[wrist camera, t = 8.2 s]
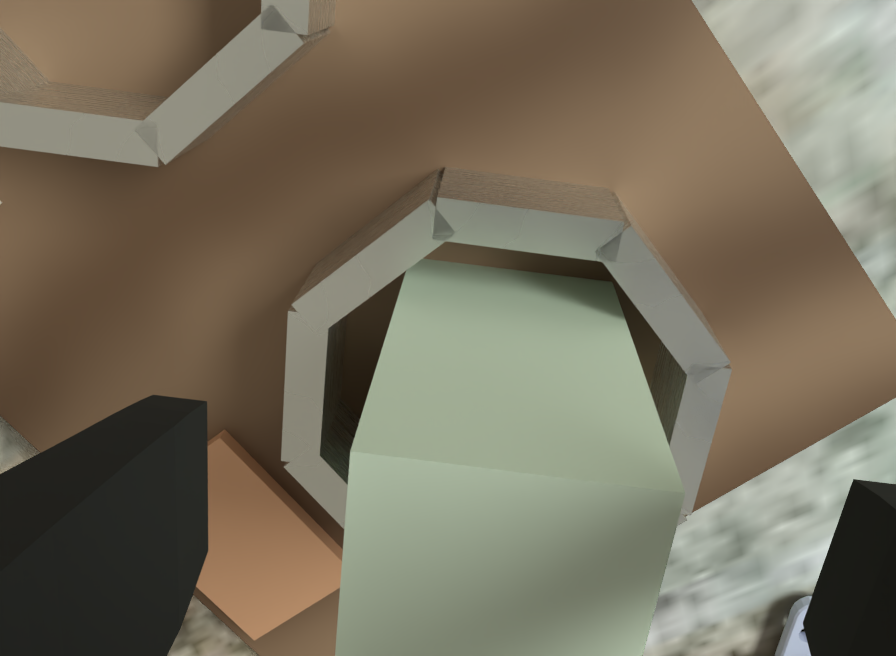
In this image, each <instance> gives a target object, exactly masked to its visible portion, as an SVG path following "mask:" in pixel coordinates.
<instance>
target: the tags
mask: <svg viewBox="0 0 896 656" xmlns="http://www.w3.org/2000/svg"><path fill="white" fill-rule="evenodd" d="M1 203H2V202H1V201H0V204H1ZM342 555H343V549H342V548H341V547H340V546H339V545H338V544H337V543H336V542H335V541H334V540H333V539H332V538H331V537H330V536H329V535H328V534H327V533H326V532H325V531H324V530H323V529H322V528H321V527H320V526H319V525H318V524H317V523H316V522H315V521H314V520H313V519H312V518H311V517H310V516H309V515H308V514H307V513H306V512H305V511H304V509H303V508H302V507H301V506H300V505H299V504H298V503H297V502H296V501H295V500H294V499H293V498H292V497H291V496H290V495H289V494H288V493H287V492H286V491H285V490H284V489H283V488H282V487H281V486H280V485H279V484H278V483H277V482H276V481H275V480H274V479H273V478H272V477H271V476H270V475H269V474H268V473H267V472H266V471H265V470H264V469H263V468H262V467H261V466H260V465H259V464H258V463H257V462H256V461H255V460H254V459H253V458H252V457H251V456H250V455H249V453H248V452H247V451H246V450H245V449H244V448H243V447H242V446H241V445H240V444H239V443H238V442H237V441H236V440H235V439H234V438H233V437H232V436H231V435H230V434H229V433H228V432H227V431H226V430H225V429H224V430H223V431H222V432H220V433H219V434H218V435H216V436H215V437H213V438H212V439H211V440H209V441H208V553H207V556H206V559H205V562H204V564H203V567H202V570H201V573H200V576H199V579H198V582H197V584H196V587H197V588H198V589H199V590H200V591H201V592H203V593H204V594H205V595H206V596H207V597H208V598H209V599H210V600H211V601H212V602H213V603H214V604H215V605H216V606H218V607H219V608H220V609H221V610H222V611H223V612H224V613H225V614H226V615H227V616H228V617H229V618H230V619H232V620H233V621H234V622H235V623H236V624H237V625H238V626H239V627H240V628H241V629H242V630H243V631H244V632H245V633H247V634H248V635H249V636H250V637H251V638H252V639H253V640H254V641H255V640H256V639H258V638H259V637H261V636H263V635H264V634H266V633H268V632H269V631H271V630H272V629H274V628H276V627H277V626H279V625H280V624H282V623H284V622H285V621H287V620H288V619H290V618H292V617H293V616H295V615H297V614H298V613H300V612H301V611H303V610H305V609H306V608H308V607H309V606H311V605H313V604H314V603H316V602H317V601H319V600H321V599H322V598H324V597H326V596H327V595H329V594H330V593H332V592H334V591H335V590H337V589H338V588H340V582H341V568H342Z"/></svg>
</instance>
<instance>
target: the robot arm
mask: <svg viewBox="0 0 896 656" xmlns="http://www.w3.org/2000/svg"><path fill="white" fill-rule="evenodd" d="M207 553H208V439H207V401H201V400H193V399H185V398H176V397H168V396H160V395H151V396H149V397H147V398H144V399H142V400H140V401H138V402H136V403H134V404H132V405H130V406H128V407H126V408H124V409H122V410H120V411H118V412H116V413H114V414H112V415H110V416H108V417H107V418H105V419H103V420H101V421H99V422H97V423H95V424H94V425H92V426H90V427H88V428H86V429H84V430H82V431H81V432H79V433H77V434H75V435H73V436H71V437H70V438H68V439H66V440H64V441H62V442H60V443H58V444H56V445H55V446H53V447H51V448H49V449H47V450H45V451H43V452H41V453H40V454H38V455H36V456H34V457H32V458H30V459H28V460H26V461H24V462H23V463H21V464H19V465H17V466H15V467H13V468H11V469H9V470H8V471H6V472H4V473H2V474H0V656H167V654H168V652H169V650H170V648H171V646H172V644H173V642H174V640H175V638H176V636H177V634H178V632H179V630H180V627H181V625H182V622H183V620H184V617H185V614H186V612H187V609H188V606H189V604H190V601H191V598H192V596H193V593H194V590H195V587H196V584H197V582H198V579H199V576H200V573H201V570H202V567H203V564H204V562H205V559H206V556H207ZM802 629H804V630H805V632H801V630H802ZM774 656H896V484H888V483H879V482H871V481H863V480H855V479H853V482H852V485H851V488H850V491H849V494H848V496H847V499H846V502H845V505H844V508H843V510H842V513H841V516H840V519H839V522H838V525H837V527H836V530H835V533H834V536H833V539H832V542H831V544H830V547H829V550H828V553H827V556H826V558H825V561H824V564H823V567H822V570H821V573H820V575H819V578H818V581H817V584H816V587H815V590H814V592H813V595H812V596H806V597H803V598H800V599H799V600H798V601H796V602H795V603H794V605H793V606H792V608H791V610H790V613H789V616H788V619H787V622H786V624H785V627H784V630H783V633H782V636H781V638H780V641H779V644H778V647H777V650H776V652H775V655H774Z"/></svg>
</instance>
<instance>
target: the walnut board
mask: <svg viewBox="0 0 896 656" xmlns="http://www.w3.org/2000/svg"><path fill="white" fill-rule="evenodd" d="M260 14H261V0H0V28H1V29H2V30H3V31H4V32H5V33H6V34H7V35H8V36H9V37H10V38H11V40H12V41H13V42H14V43H15V44H16V45H17V46H18V47H19V48H20V49H21V50H22V52H23V53H24V54H25V55H26V56H27V57H28V58H29V59H30V60H31V61H32V63H33V64H34V65H35V66H36V67H37V68H38V69H39V70H40V71H41V72H42V73H43V75H44V76H45V77H46V78H47V79H48V80H49V81H50V82H57V83H64V84H72V85H80V86H87V87H95V88H103V89H110V90H118V91H126V92H133V93H141V94H149V95H157V96H164V97H170V96H171V95H172V94H173V93H174V92H175V91H176V90H177V89H179V88H180V87H181V86H182V85H183V84H184V83H185V82H186V81H187V80H188V79H190V78H191V77H192V76H193V75H194V74H195V73H196V72H197V71H198V70H199V69H201V68H202V67H203V66H204V65H205V64H206V63H207V62H208V61H209V60H210V59H212V58H213V57H214V56H215V55H216V54H217V53H218V52H219V51H220V50H221V49H223V48H224V47H225V46H226V45H227V44H228V43H229V42H230V41H231V40H232V39H234V38H235V37H236V36H237V35H238V34H239V33H240V32H241V31H242V30H243V29H245V28H246V27H247V26H248V25H249V24H250V23H251V22H252V21H253V20H254V19H256V18H257V17H258V16H259V15H260ZM328 29H329V30H330V32H331V33H329V34H328V35H327V36H326V37H325V38H324V39H323V40H321V41H320V42H319V43H318V44H317V45H316V46H315V47H313V48H312V49H311V50H310V51H309V52H308V53H306V54H305V55H304V56H303V57H302V58H301V59H300V60H298V61H297V62H296V63H295V64H294V65H293V66H292V67H290V68H289V69H288V70H287V71H286V72H285V73H284V74H282V75H281V76H280V77H279V78H278V79H277V80H276V81H274V82H273V83H272V84H271V85H270V86H269V87H268V88H266V89H265V90H264V91H263V92H262V93H261V94H260V95H258V96H257V97H256V98H255V99H254V100H253V101H252V102H250V103H249V104H248V105H247V106H246V107H245V108H243V109H242V110H241V111H240V112H239V113H238V114H237V115H235V116H234V117H233V118H232V119H231V120H230V121H229V122H227V123H226V124H225V125H224V126H223V127H222V128H221V129H219V130H218V131H217V132H216V133H215V134H214V135H213V136H211V137H210V138H209V139H208V140H206V141H204V142H203V143H201V144H199V145H198V146H196V147H194V148H193V149H191V150H189V151H188V152H186V153H184V154H183V155H181V156H179V157H178V158H176V159H174V160H173V161H171V162H169V163H168V164H166V165H165V164H162V165H161V166H159V167H154V166H146V165H138V164H131V163H123V162H115V161H108V160H100V159H92V158H85V157H77V156H70V155H62V154H54V153H47V152H39V151H31V150H24V149H16V148H8V147H1V146H0V201H1V202H2V203H1V204H0V416H1V417H2V418H4V419H5V420H6V421H7V422H8V423H9V424H10V425H11V426H12V427H13V428H14V429H15V430H16V431H18V432H19V433H20V434H21V435H22V436H23V437H24V438H25V439H26V440H27V441H28V442H29V443H30V444H32V445H33V446H34V447H35V448H36V449H37V450H38V451H39V452H40V453H41V452H43V451H45V450H47V449H49V448H51V447H53V446H55V445H56V444H58V443H60V442H62V441H64V440H66V439H68V438H70V437H71V436H73V435H75V434H77V433H79V432H81V431H82V430H84V429H86V428H88V427H90V426H92V425H94V424H95V423H97V422H99V421H101V420H103V419H105V418H107V417H108V416H110V415H112V414H114V413H116V412H118V411H120V410H122V409H124V408H126V407H128V406H130V405H132V404H134V403H136V402H138V401H140V400H142V399H144V398H147V397H149V396H151V395H160V396H168V397H176V398H185V399H193V400H201V401H207V439H208V441H209V440H211V439H212V438H213V437H215V436H216V435H218V434H219V433H220V432H222V431H223V430H224V429H225V430H226V431H227V432H228V433H229V434H230V435H231V436H232V437H233V438H234V439H235V440H236V441H237V442H238V443H239V444H240V445H241V446H242V447H243V448H244V449H245V450H246V451H247V452H248V453H249V455H250V456H251V457H252V458H253V459H254V460H255V461H256V462H257V463H258V464H259V465H260V466H261V467H262V468H263V469H264V470H265V471H266V472H267V473H268V474H269V475H270V476H271V477H272V478H273V479H274V480H275V481H276V482H277V483H278V484H279V485H280V486H281V487H282V488H283V489H284V490H285V491H286V492H287V493H288V494H289V495H290V496H291V497H292V498H293V499H294V500H295V501H296V502H297V503H298V504H299V505H300V506H301V507H302V508H303V509H304V511H305V512H306V513H307V514H308V515H309V516H310V517H311V518H312V519H313V520H314V521H315V522H316V523H317V524H318V525H319V526H320V527H321V528H322V529H323V530H324V531H325V532H326V533H327V534H328V535H329V536H330V537H331V538H332V539H333V540H334V541H335V542H336V543H337V544H338V545H339V546H340V547H341V548H342V549H343V541H344V529H343V528H342V527H341V526H340V524H339V523H338V522H337V521H336V520H335V519H334V518H333V517H332V516H331V515H330V514H329V513H328V512H327V511H326V510H325V509H324V508H323V507H322V506H321V505H320V504H319V503H318V502H317V501H316V500H315V499H314V498H313V497H312V496H311V495H310V494H309V493H308V492H307V491H306V490H305V488H304V487H303V486H302V485H301V484H300V483H299V482H298V481H297V480H296V479H295V478H294V477H293V476H292V475H291V474H290V473H289V472H288V471H287V470H286V469H285V468H284V464H285V462H286V461H281V449H282V428H283V406H284V385H285V363H286V342H287V320H288V310H289V308H290V307H291V304H292V303H293V301H294V299H295V298H296V296H297V295H298V293H299V291H300V290H301V288H302V286H303V285H304V283H305V282H306V280H307V278H308V277H309V275H310V273H311V272H312V270H313V268H314V267H315V265H316V264H317V262H319V261H320V260H321V259H322V258H324V257H325V256H326V255H328V254H329V253H330V252H331V251H333V250H334V249H335V248H337V247H338V246H339V245H341V244H342V243H343V242H344V241H346V240H347V239H348V238H350V237H351V236H352V235H353V234H355V233H356V232H357V231H359V230H360V229H361V228H362V227H364V226H365V225H366V224H368V223H369V222H370V221H371V220H373V219H374V218H375V217H377V216H378V215H379V214H381V213H382V212H383V211H384V210H386V209H387V208H388V207H390V206H391V205H392V204H393V203H395V202H396V201H397V200H399V199H400V198H401V197H402V196H404V195H405V194H406V193H408V192H409V191H410V190H412V189H413V188H414V187H415V186H417V185H418V184H419V183H421V182H422V181H423V180H424V179H426V178H427V177H428V176H430V175H431V174H432V173H433V172H435V171H436V170H437V169H439V170H440V171H441V172H442V174H444V170H445V167H451V168H459V169H467V170H474V171H482V172H490V173H497V174H505V175H513V176H520V177H528V178H536V179H543V180H551V181H559V182H566V183H574V184H582V185H589V186H597V187H605V188H609V190H610V192H611V194H612V193H613V192H615V193H616V194H617V196H618V197H619V198H620V200H621V201H622V202H623V204H624V205H625V207H626V208H627V209H628V211H629V212H630V214H631V215H632V216H633V218H634V219H635V220H636V222H637V223H638V225H639V226H640V227H641V229H642V230H643V232H644V233H645V234H646V236H647V237H648V238H649V240H650V241H651V243H652V244H653V245H654V247H655V248H656V250H657V251H658V252H659V254H660V255H661V256H662V258H663V259H664V261H665V262H666V263H667V265H668V266H669V267H670V269H671V270H672V272H673V273H674V274H675V276H676V277H677V279H678V280H679V281H680V283H681V284H682V285H683V287H684V288H685V290H686V291H687V292H688V294H689V295H690V297H691V298H692V299H693V301H694V302H695V303H696V305H697V306H698V308H699V309H700V310H701V312H702V313H703V315H704V317H705V318H706V320H707V322H708V324H709V325H710V327H711V329H712V331H713V332H714V334H715V336H716V338H717V339H718V341H719V343H720V345H721V346H722V348H723V350H724V352H725V353H726V355H727V357H728V359H729V360H730V362H731V363H729V365H730V367H731V369H732V371H731V375H730V378H729V382H728V386H727V389H726V393H725V396H724V400H723V403H722V407H721V411H720V414H719V418H718V421H717V425H716V428H715V432H714V436H713V439H712V443H711V446H710V450H709V453H708V457H707V461H706V464H705V468H704V471H703V475H702V478H701V482H700V486H699V489H698V493H697V496H696V500H695V503H694V507H693V511H692V512H694V511H696V510H698V509H699V508H701V507H703V506H705V505H706V504H708V503H710V502H712V501H714V500H715V499H717V498H719V497H721V496H722V495H724V494H726V493H728V492H729V491H731V490H733V489H735V488H737V487H738V486H740V485H742V484H744V483H745V482H747V481H749V480H751V479H752V478H754V477H756V476H758V475H760V474H761V473H763V472H765V471H767V470H768V469H770V468H772V467H774V466H775V465H777V464H779V463H781V462H783V461H784V460H786V459H788V458H790V457H791V456H793V455H795V454H797V453H798V452H800V451H802V450H804V449H806V448H807V447H809V446H811V445H813V444H814V443H816V442H818V441H820V440H821V439H823V438H825V437H827V436H829V435H830V434H832V433H834V432H836V431H837V430H839V429H841V428H843V427H844V426H846V425H848V424H850V423H852V422H853V421H855V420H857V419H859V418H860V417H862V416H864V415H866V414H867V413H869V412H871V411H873V410H875V409H876V408H878V407H880V406H882V405H883V404H885V403H887V402H889V401H890V400H892V399H894V398H896V319H895V318H894V316H893V314H892V313H891V311H890V310H889V308H888V307H887V305H886V304H885V302H884V300H883V299H882V297H881V296H880V294H879V293H878V291H877V289H876V288H875V286H874V285H873V283H872V282H871V280H870V279H869V277H868V275H867V274H866V272H865V271H864V269H863V268H862V266H861V264H860V263H859V261H858V260H857V258H856V257H855V255H854V254H853V252H852V250H851V249H850V247H849V246H848V244H847V243H846V241H845V239H844V238H843V236H842V235H841V233H840V232H839V230H838V229H837V227H836V225H835V224H834V222H833V221H832V219H831V218H830V216H829V215H828V213H827V211H826V210H825V208H824V207H823V205H822V204H821V202H820V200H819V199H818V197H817V196H816V194H815V193H814V191H813V190H812V188H811V186H810V185H809V183H808V182H807V180H806V179H805V177H804V175H803V174H802V172H801V171H800V169H799V168H798V166H797V165H796V163H795V161H794V160H793V158H792V157H791V155H790V154H789V152H788V150H787V149H786V147H785V146H784V144H783V143H782V141H781V140H780V138H779V136H778V135H777V133H776V132H775V130H774V129H773V127H772V126H771V124H770V122H769V121H768V119H767V118H766V116H765V115H764V113H763V111H762V110H761V108H760V107H759V105H758V104H757V102H756V101H755V99H754V97H753V96H752V94H751V93H750V91H749V90H748V88H747V86H746V85H745V83H744V82H743V80H742V79H741V77H740V76H739V74H738V72H737V71H736V69H735V68H734V66H733V65H732V63H731V61H730V60H729V58H728V57H727V55H726V54H725V52H724V51H723V49H722V47H721V46H720V44H719V43H718V41H717V40H716V38H715V37H714V35H713V33H712V32H711V30H710V29H709V27H708V26H707V24H706V22H705V21H704V19H703V18H702V16H701V15H700V13H699V12H698V10H697V8H696V7H695V5H694V4H693V2H692V1H691V0H336V5H335V22H334V25H333V26H331V27H328ZM423 259H431V260H439V261H447V262H455V263H463V264H471V265H479V266H487V267H495V268H504V269H512V270H520V271H528V272H536V273H544V274H552V275H560V276H568V277H576V278H585V279H593V280H601V281H609V282H613V285H614V288H615V291H616V294H617V297H618V300H619V303H620V305H621V308H622V311H623V314H624V317H625V320H626V323H627V326H628V329H629V331H630V334H631V337H632V340H633V343H634V346H635V349H636V352H637V355H638V358H639V360H640V363H641V366H642V369H643V372H644V375H645V378H646V381H647V384H648V386H649V389H650V385H651V381H652V377H653V373H654V368H655V364H656V360H657V356H658V352H659V348H660V343H661V339H660V338H659V337H658V335H657V334H656V333H655V331H654V330H653V329H652V327H651V326H650V325H649V323H648V322H647V321H646V319H645V318H644V317H643V315H642V314H641V313H640V311H639V310H638V309H637V307H636V306H635V305H634V304H633V302H632V301H631V300H630V298H629V297H628V296H627V294H626V293H625V292H624V290H623V289H622V288H621V286H620V285H619V284H618V282H617V281H616V280H615V278H614V277H613V276H612V274H611V273H610V272H609V270H608V269H607V268H606V266H605V265H604V264H603V262H600V261H592V260H585V259H577V258H569V257H562V256H554V255H547V254H539V253H531V252H524V251H516V250H508V249H501V248H493V247H485V246H478V245H470V244H463V243H455V242H447V241H445V242H444V243H443V244H441V245H440V246H439V247H437V248H436V249H435V250H433V251H432V252H431V253H429V254H428V255H427V256H425V257H424V258H423ZM405 273H406V271H405V272H404V273H402V274H401V275H400V276H398V277H397V278H395V279H394V280H393V281H391V282H390V283H389V284H387V285H386V286H385V287H383V288H382V289H381V290H379V291H378V292H377V293H375V294H374V295H373V296H371V297H370V298H368V299H367V300H366V301H364V302H363V303H362V304H360V305H359V306H358V307H356V308H355V309H354V310H352V311H351V312H350V313H348V314H347V322H346V335H345V348H344V361H343V374H342V387H341V400H342V401H343V402H344V403H345V404H346V405H347V406H348V408H349V409H350V410H351V411H352V412H353V413H354V414H355V415H356V416H357V417H358V418H359V420H360V418H361V415H362V412H363V408H364V405H365V402H366V399H367V395H368V392H369V389H370V386H371V383H372V379H373V376H374V373H375V370H376V366H377V363H378V360H379V357H380V354H381V350H382V347H383V344H384V341H385V337H386V334H387V331H388V328H389V324H390V321H391V318H392V315H393V312H394V308H395V305H396V302H397V299H398V295H399V292H400V289H401V286H402V283H403V279H404V276H405ZM685 516H687V515H685ZM193 595H194V596H196V597H197V598H198V599H199V600H200V601H201V602H202V603H203V604H204V605H205V606H206V607H207V608H208V609H210V610H211V611H212V612H213V613H214V614H215V615H216V616H217V617H218V618H219V619H220V620H221V621H222V622H224V623H225V624H226V625H227V626H228V627H229V628H230V629H231V630H232V631H233V632H234V633H235V634H237V635H238V636H239V637H240V638H241V639H242V640H243V641H244V642H245V643H246V644H247V645H248V646H249V647H251V648H252V649H253V650H254V651H255V652H256V653H257V654H258V655H259V656H335V649H336V635H337V622H338V608H339V595H340V588H338V589H337V590H335V591H334V592H332V593H330V594H329V595H327V596H326V597H324V598H322V599H321V600H319V601H317V602H316V603H314V604H313V605H311V606H309V607H308V608H306V609H305V610H303V611H301V612H300V613H298V614H297V615H295V616H293V617H292V618H290V619H288V620H287V621H285V622H284V623H282V624H280V625H279V626H277V627H276V628H274V629H272V630H271V631H269V632H268V633H266V634H264V635H263V636H261V637H259V638H258V639H256V640H255V641H254V640H253V639H252V638H251V637H250V636H249V635H248V634H247V633H245V632H244V631H243V630H242V629H241V628H240V627H239V626H238V625H237V624H236V623H235V622H234V621H233V620H232V619H230V618H229V617H228V616H227V615H226V614H225V613H224V612H223V611H222V610H221V609H220V608H219V607H218V606H216V605H215V604H214V603H213V602H212V601H211V600H210V599H209V598H208V597H207V596H206V595H205V594H204V593H203V592H201V591H200V590H199V589H198V588H197V587H195V590H194V593H193Z"/></svg>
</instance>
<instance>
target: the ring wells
mask: <svg viewBox="0 0 896 656" xmlns="http://www.w3.org/2000/svg"><path fill="white" fill-rule="evenodd" d="M335 5H336V0H261V14H260V15H259V16H258V17H257V18H256V19H254V20H253V21H252V22H251V23H250V24H249V25H248V26H247V27H246V28H245V29H243V30H242V31H241V32H240V33H239V34H238V35H237V36H236V37H235V38H234V39H232V40H231V41H230V42H229V43H228V44H227V45H226V46H225V47H224V48H223V49H221V50H220V51H219V52H218V53H217V54H216V55H215V56H214V57H213V58H212V59H210V60H209V61H208V62H207V63H206V64H205V65H204V66H203V67H202V68H201V69H199V70H198V71H197V72H196V73H195V74H194V75H193V76H192V77H191V78H190V79H188V80H187V81H186V82H185V83H184V84H183V85H182V86H181V87H180V88H179V89H177V90H176V91H175V92H174V93H173V94H172V95H171V96H170V97H164V96H157V95H149V94H141V93H133V92H126V91H118V90H110V89H103V88H95V87H87V86H80V85H72V84H64V83H57V82H50V81H49V80H48V79H47V78H46V77H45V76H44V75H43V73H42V72H41V71H40V70H39V69H38V68H37V67H36V66H35V65H34V64H33V63H32V61H31V60H30V59H29V58H28V57H27V56H26V55H25V54H24V53H23V52H22V50H21V49H20V48H19V47H18V46H17V45H16V44H15V43H14V42H13V41H12V40H11V38H10V37H9V36H8V35H7V34H6V33H5V32H4V31H3V30H2V29H1V28H0V146H1V147H8V148H16V149H24V150H31V151H39V152H47V153H54V154H62V155H70V156H77V157H85V158H92V159H100V160H108V161H115V162H123V163H131V164H138V165H146V166H154V167H159V166H161V165H162V164H165V165H166V164H168V163H169V162H171V161H173V160H174V159H176V158H178V157H179V156H181V155H183V154H184V153H186V152H188V151H189V150H191V149H193V148H194V147H196V146H198V145H199V144H201V143H203V142H204V141H206V140H208V139H209V138H210V137H211V136H213V135H214V134H215V133H216V132H217V131H218V130H219V129H221V128H222V127H223V126H224V125H225V124H226V123H227V122H229V121H230V120H231V119H232V118H233V117H234V116H235V115H237V114H238V113H239V112H240V111H241V110H242V109H243V108H245V107H246V106H247V105H248V104H249V103H250V102H252V101H253V100H254V99H255V98H256V97H257V96H258V95H260V94H261V93H262V92H263V91H264V90H265V89H266V88H268V87H269V86H270V85H271V84H272V83H273V82H274V81H276V80H277V79H278V78H279V77H280V76H281V75H282V74H284V73H285V72H286V71H287V70H288V69H289V68H290V67H292V66H293V65H294V64H295V63H296V62H297V61H298V60H300V59H301V58H302V57H303V56H304V55H305V54H306V53H308V52H309V51H310V50H311V49H312V48H313V47H315V46H316V45H317V44H318V43H319V42H320V41H321V40H323V39H324V38H325V37H326V36H327V35H328V34H329V33H331V32H330V30H329V29H328V27H331V26H333V25H334V22H335ZM445 241H447V242H455V243H463V244H470V245H478V246H485V247H493V248H501V249H508V250H516V251H524V252H531V253H539V254H547V255H554V256H562V257H569V258H577V259H585V260H592V261H600V262H603V264H604V265H605V266H606V268H607V269H608V270H609V272H610V273H611V274H612V276H613V277H614V278H615V280H616V281H617V282H618V284H619V285H620V286H621V288H622V289H623V290H624V292H625V293H626V294H627V296H628V297H629V298H630V300H631V301H632V302H633V304H634V305H635V306H636V307H637V309H638V310H639V311H640V313H641V314H642V315H643V317H644V318H645V319H646V321H647V322H648V323H649V325H650V326H651V327H652V329H653V330H654V331H655V333H656V334H657V335H658V337H659V338H660V339H661V343H660V348H659V352H658V356H657V360H656V364H655V368H654V373H653V377H652V381H651V385H650V392H651V395H652V398H653V401H654V404H655V407H656V410H657V412H658V415H659V418H660V421H661V424H662V427H663V430H664V433H665V436H666V438H667V441H668V444H669V447H670V450H671V453H672V456H673V459H674V462H675V465H676V467H677V470H678V473H679V476H680V479H681V482H682V485H683V488H684V491H685V497H684V501H683V505H682V508H681V512H680V516H679V520H678V524H677V526H678V525H680V524H681V523H683V522H685V521H687V519H686V516H685V515H691V514H692V511H693V507H694V503H695V500H696V496H697V493H698V489H699V486H700V482H701V478H702V475H703V471H704V468H705V464H706V461H707V457H708V453H709V450H710V446H711V443H712V439H713V436H714V432H715V428H716V425H717V421H718V418H719V414H720V411H721V407H722V403H723V400H724V396H725V393H726V389H727V386H728V382H729V378H730V375H731V371H732V369H731V367H730V365H729V363H731V362H730V360H729V359H728V357H727V355H726V353H725V352H724V350H723V348H722V346H721V345H720V343H719V341H718V339H717V338H716V336H715V334H714V332H713V331H712V329H711V327H710V325H709V324H708V322H707V320H706V318H705V317H704V315H703V313H702V312H701V310H700V309H699V308H698V306H697V305H696V303H695V302H694V301H693V299H692V298H691V297H690V295H689V294H688V292H687V291H686V290H685V288H684V287H683V285H682V284H681V283H680V281H679V280H678V279H677V277H676V276H675V274H674V273H673V272H672V270H671V269H670V267H669V266H668V265H667V263H666V262H665V261H664V259H663V258H662V256H661V255H660V254H659V252H658V251H657V250H656V248H655V247H654V245H653V244H652V243H651V241H650V240H649V238H648V237H647V236H646V234H645V233H644V232H643V230H642V229H641V227H640V226H639V225H638V223H637V222H636V220H635V219H634V218H633V216H632V215H631V214H630V212H629V211H628V209H627V208H626V207H625V205H624V204H623V202H622V201H621V200H620V198H619V197H618V196H617V194H616V193H615V192H613V193H612V194H611V192H610V190H609V188H605V187H597V186H589V185H582V184H574V183H566V182H559V181H551V180H543V179H536V178H528V177H520V176H513V175H505V174H497V173H490V172H482V171H474V170H467V169H459V168H451V167H445V170H444V174H442V172H441V171H440V170H439V169H437V170H436V171H435V172H433V173H432V174H431V175H430V176H428V177H427V178H426V179H424V180H423V181H422V182H421V183H419V184H418V185H417V186H415V187H414V188H413V189H412V190H410V191H409V192H408V193H406V194H405V195H404V196H402V197H401V198H400V199H399V200H397V201H396V202H395V203H393V204H392V205H391V206H390V207H388V208H387V209H386V210H384V211H383V212H382V213H381V214H379V215H378V216H377V217H375V218H374V219H373V220H371V221H370V222H369V223H368V224H366V225H365V226H364V227H362V228H361V229H360V230H359V231H357V232H356V233H355V234H353V235H352V236H351V237H350V238H348V239H347V240H346V241H344V242H343V243H342V244H341V245H339V246H338V247H337V248H335V249H334V250H333V251H331V252H330V253H329V254H328V255H326V256H325V257H324V258H322V259H321V260H320V261H319V262H317V264H316V265H315V267H314V268H313V270H312V272H311V273H310V275H309V277H308V278H307V280H306V282H305V283H304V285H303V286H302V288H301V290H300V291H299V293H298V295H297V296H296V298H295V299H294V301H293V303H292V304H291V307H290V308H289V310H288V320H287V342H286V363H285V385H284V406H283V428H282V449H281V461H286V462H285V464H284V468H285V469H286V470H287V471H288V472H289V473H290V474H291V475H292V476H293V477H294V478H295V479H296V480H297V481H298V482H299V483H300V484H301V485H302V486H303V487H304V488H305V490H306V491H307V492H308V493H309V494H310V495H311V496H312V497H313V498H314V499H315V500H316V501H317V502H318V503H319V504H320V505H321V506H322V507H323V508H324V509H325V510H326V511H327V512H328V513H329V514H330V515H331V516H332V517H333V518H334V519H335V520H336V521H337V522H338V523H339V524H340V526H341V527H342V528H343V529H344V528H345V515H346V501H347V488H348V474H349V461H350V450H351V447H352V444H353V441H354V437H355V434H356V431H357V428H358V425H359V421H360V420H359V418H358V417H357V416H356V415H355V414H354V413H353V412H352V411H351V410H350V409H349V408H348V406H347V405H346V404H345V403H344V402H343V401H342V400H341V387H342V374H343V361H344V348H345V335H346V322H347V314H348V313H350V312H351V311H352V310H354V309H355V308H356V307H358V306H359V305H360V304H362V303H363V302H364V301H366V300H367V299H368V298H370V297H371V296H373V295H374V294H375V293H377V292H378V291H379V290H381V289H382V288H383V287H385V286H386V285H387V284H389V283H390V282H391V281H393V280H394V279H395V278H397V277H398V276H400V275H401V274H402V273H404V272H405V271H406V270H408V269H409V268H410V267H412V266H413V265H414V264H416V263H417V262H418V261H420V260H421V259H422V258H424V257H425V256H427V255H428V254H429V253H431V252H432V251H433V250H435V249H436V248H437V247H439V246H440V245H441V244H443V243H444V242H445Z"/></svg>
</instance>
